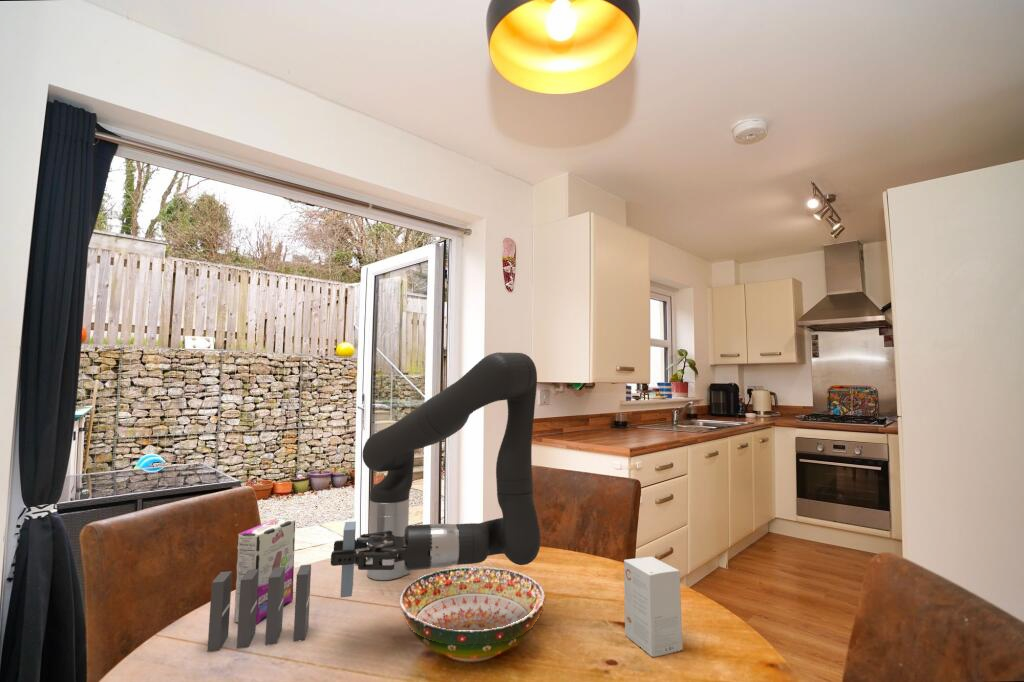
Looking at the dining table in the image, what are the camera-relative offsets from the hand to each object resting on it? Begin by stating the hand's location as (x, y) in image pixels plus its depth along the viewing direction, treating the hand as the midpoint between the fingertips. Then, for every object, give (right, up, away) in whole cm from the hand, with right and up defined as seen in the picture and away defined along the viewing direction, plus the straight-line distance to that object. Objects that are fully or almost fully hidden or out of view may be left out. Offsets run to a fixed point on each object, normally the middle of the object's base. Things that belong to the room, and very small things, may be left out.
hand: (333, 553), depth 84 cm
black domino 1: (-15, -15, 0) cm, 22 cm away
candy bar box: (-18, -17, +11) cm, 27 cm away
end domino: (-19, -15, -1) cm, 25 cm away
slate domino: (+2, -7, 0) cm, 7 cm away
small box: (+55, -16, 0) cm, 58 cm away
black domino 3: (-7, -16, +3) cm, 17 cm away
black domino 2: (-11, -15, +1) cm, 19 cm away
